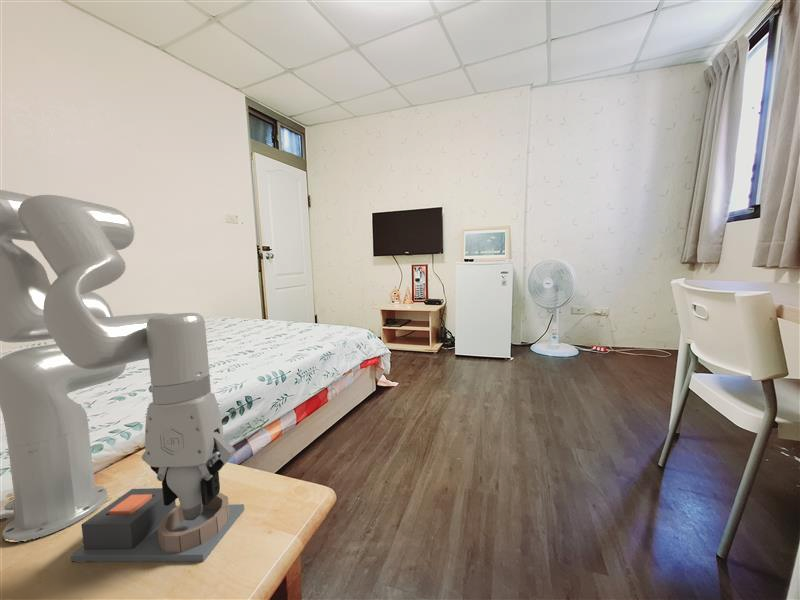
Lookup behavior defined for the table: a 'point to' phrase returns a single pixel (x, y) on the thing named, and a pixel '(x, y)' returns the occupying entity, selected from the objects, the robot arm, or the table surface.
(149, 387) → the robot arm
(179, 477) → the lightbulb
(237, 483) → the table surface
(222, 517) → the panel
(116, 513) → the switch button
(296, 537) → the table surface
